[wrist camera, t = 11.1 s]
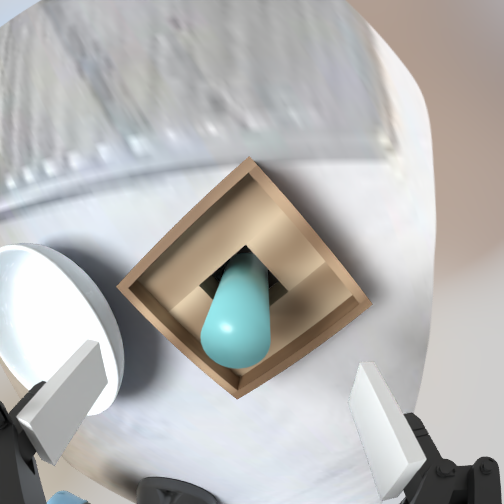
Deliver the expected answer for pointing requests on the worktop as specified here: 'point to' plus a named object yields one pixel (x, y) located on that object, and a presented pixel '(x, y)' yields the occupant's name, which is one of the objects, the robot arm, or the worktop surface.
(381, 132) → the worktop surface
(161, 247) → the bore box
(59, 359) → the serving bowl
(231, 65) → the worktop surface
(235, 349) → the peg
